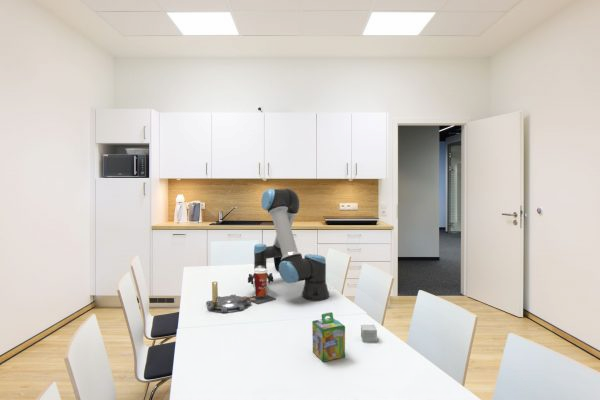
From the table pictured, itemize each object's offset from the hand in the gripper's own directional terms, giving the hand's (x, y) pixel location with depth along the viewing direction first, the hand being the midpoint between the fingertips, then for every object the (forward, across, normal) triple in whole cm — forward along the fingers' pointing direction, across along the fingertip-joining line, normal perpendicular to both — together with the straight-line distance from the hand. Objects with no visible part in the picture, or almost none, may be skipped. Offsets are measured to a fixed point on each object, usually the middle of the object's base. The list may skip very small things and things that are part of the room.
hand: (260, 283), depth 186 cm
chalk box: (+62, -24, -10) cm, 68 cm away
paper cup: (-5, 0, -8) cm, 9 cm away
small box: (+52, -42, -10) cm, 68 cm away
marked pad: (-5, 0, -10) cm, 11 cm away
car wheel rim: (-72, -17, -10) cm, 74 cm away
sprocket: (+3, +16, -10) cm, 19 cm away
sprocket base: (+3, +16, -10) cm, 19 cm away
